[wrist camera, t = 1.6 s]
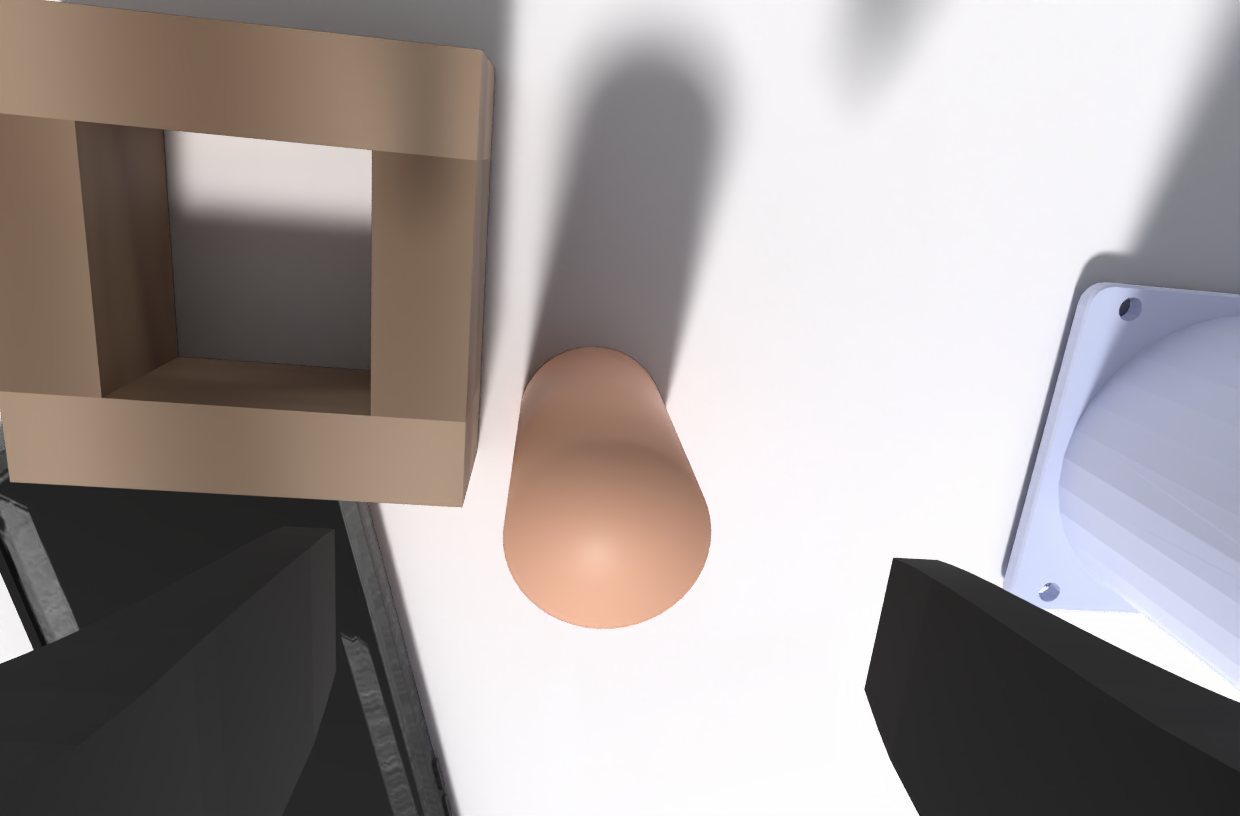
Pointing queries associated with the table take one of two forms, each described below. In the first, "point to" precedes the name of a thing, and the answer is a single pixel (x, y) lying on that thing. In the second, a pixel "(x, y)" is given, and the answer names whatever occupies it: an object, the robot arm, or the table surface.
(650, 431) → the peg
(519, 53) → the table surface
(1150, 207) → the table surface
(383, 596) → the phone
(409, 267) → the socket block
